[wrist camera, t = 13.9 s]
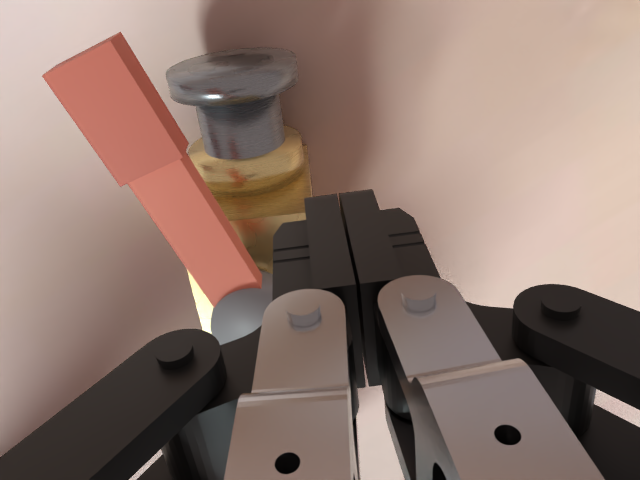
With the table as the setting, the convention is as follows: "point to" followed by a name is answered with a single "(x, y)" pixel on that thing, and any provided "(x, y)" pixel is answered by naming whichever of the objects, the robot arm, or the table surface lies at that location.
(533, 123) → the table surface
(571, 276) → the table surface
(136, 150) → the lever
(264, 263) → the valve pipe
